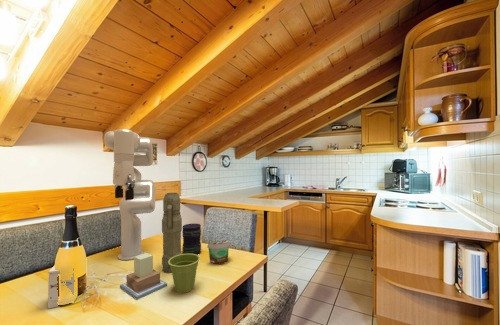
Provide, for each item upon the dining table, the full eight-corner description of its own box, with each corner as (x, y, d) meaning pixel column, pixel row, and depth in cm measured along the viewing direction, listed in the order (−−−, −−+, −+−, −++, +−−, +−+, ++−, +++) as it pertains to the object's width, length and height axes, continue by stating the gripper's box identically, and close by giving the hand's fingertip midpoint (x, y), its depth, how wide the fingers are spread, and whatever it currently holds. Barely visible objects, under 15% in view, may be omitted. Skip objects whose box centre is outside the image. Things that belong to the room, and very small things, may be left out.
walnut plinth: (126, 285, 90) (126, 275, 90) (148, 276, 97) (148, 267, 97) (137, 292, 84) (137, 281, 85) (160, 283, 92) (160, 272, 92)
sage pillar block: (134, 274, 90) (134, 256, 91) (146, 269, 94) (146, 252, 95) (140, 278, 87) (140, 259, 88) (152, 273, 91) (152, 255, 91)
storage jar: (178, 254, 125) (178, 226, 125) (192, 248, 133) (192, 222, 133) (191, 257, 119) (190, 229, 120) (204, 252, 127) (204, 224, 128)
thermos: (160, 276, 100) (160, 195, 100) (163, 265, 111) (162, 192, 112) (182, 273, 102) (181, 194, 103) (182, 262, 113) (181, 191, 114)
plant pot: (164, 287, 90) (164, 258, 91) (193, 278, 97) (192, 251, 98) (174, 300, 81) (174, 268, 81) (205, 289, 88) (205, 260, 88)
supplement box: (47, 309, 77) (47, 271, 77) (55, 298, 84) (55, 263, 84) (74, 304, 80) (74, 267, 80) (80, 293, 87) (80, 259, 87)
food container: (214, 268, 107) (214, 246, 107) (207, 264, 111) (207, 243, 112) (235, 260, 115) (235, 240, 115) (228, 257, 120) (227, 237, 120)
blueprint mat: (119, 287, 90) (119, 284, 90) (149, 275, 100) (149, 273, 100) (136, 299, 82) (136, 296, 82) (167, 285, 91) (167, 283, 91)
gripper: (106, 159, 100) (106, 198, 100) (124, 158, 90) (124, 201, 90) (124, 159, 106) (124, 196, 106) (142, 158, 96) (143, 199, 96)
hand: (124, 198), depth 98 cm, fingers open, 9 cm apart
